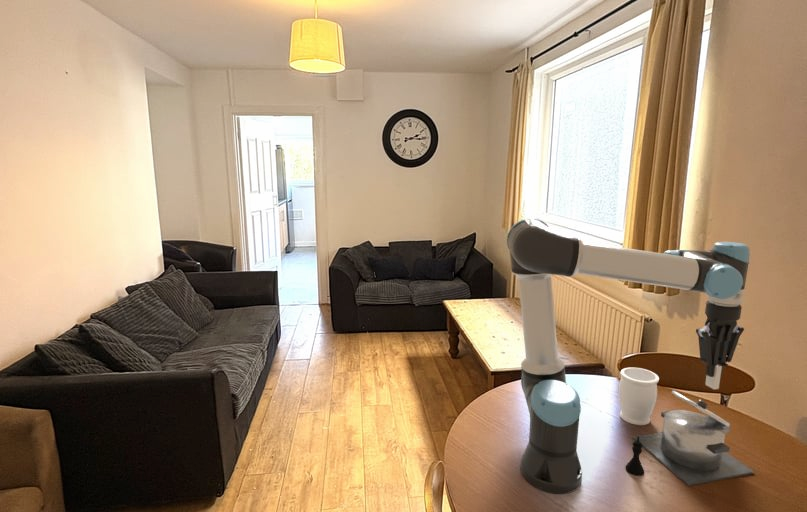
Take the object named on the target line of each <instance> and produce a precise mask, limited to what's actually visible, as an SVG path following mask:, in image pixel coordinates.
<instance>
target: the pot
mask: <svg viewBox="0 0 807 512" xmlns="http://www.w3.org/2000/svg"><path fill="white" fill-rule="evenodd" d="M660 416H661V417H662V418H663V425H662V431H660V432H655V433H649V434H641V435H636V436H632V440H634V441H635V440H637V437H638V436H639V441H640V442H641V443H642V445H643V447H642V448H643V449H644V450H646V452H647V453H649V454H650V455H651V456H652V457H653V458H655V459H656V460H657V461H658V462H659V463H661V464H662V465H663V466H664V467H665V468H667V469H668V470H669V471H670V472H671V473H673V474H674V475H675V476H676V477H677V478H679V479H680V480H681V481H682V482H683V483H684V484H686V485H687V486H688V487H690V486H695V485H701V484H705V483H711V482H712V483H713V482H716V481H721V480H727V479H731V478H737V477H742V476H748V475H752V474H755V471H754V470H753V469H751V468H749V467H748V466H747V465H746V464H744V463H742V462H741V461H740V460H738V459H737V458H735V457H734V456H733V455H731V454H730V453H729V452H730V447H729V446H728V445H726V444H725V439H726V434H729V433H730V428H731V425H730V426H729V427H727V426H725V425H724V424H722V423H720V422H718V421H717V420H715V419H713V418H711V417H710V416H708V415H706V414H704V413H703V414H702V413H699V412H695V411H692V410H685V409H674V410H666V411H661V413H660Z"/></svg>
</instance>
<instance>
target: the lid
mask: <svg viewBox="0 0 807 512" xmlns="http://www.w3.org/2000/svg"><path fill="white" fill-rule="evenodd" d="M671 394H673V395H674V396H675V397H677V398H678V399H680V400H681V401H683V402H685V403H687V404H688V405H690V406H691V407H692V408H695V409H697V411H700V412H701V413H703V414H704V415H705V416H710V417H711V418H713V419H715V420H717V421H718V422H720V423H722V424H724V425H725V426H727V427H729V426H730V427H731V423H730V422H729V421H727V420H725V419H724V418H722V417H720V416H719V415H718V414H715V413H714V412H712V411H711V410H708V409H707V408H708V406H709V404H708V403H706V402H705V401H703V400H701V399H700V398H699V399H698V400H697V402H695V401H694V400H691V399H690V398H688V397H687V396H685V395H683V394H681V393H680V392H679V391H675V390H672V391H671Z"/></svg>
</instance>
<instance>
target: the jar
mask: <svg viewBox="0 0 807 512" xmlns="http://www.w3.org/2000/svg"><path fill="white" fill-rule="evenodd" d="M619 373H620V376H621V377H620V380H619V385H618V403H619V408H620V410H621V411H620V412H619V417H620V418H621V419H622V420H623V421H624V422H626V423H629V424H632V425H635V426H645V425H649V424H650V422H651V418H650V416H651V415H653V414H652V413H653V412H654V409H655V405H656V402H657V398H658V386H657V385H658V383H659V380H660V377H659V376H658V374H656V373H655V372H653V371H651V370H649V369H646V368H642V367H635V366H634V367H633V366H632V367H624V368H622V369H621V370H620V372H619Z"/></svg>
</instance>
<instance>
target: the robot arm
mask: <svg viewBox="0 0 807 512" xmlns="http://www.w3.org/2000/svg"><path fill="white" fill-rule="evenodd" d="M506 245H507V248H508V250H509V258H510V259H509V260H510V267H511V273H512V274H513V275H515V276H516V277H517V281H518V290H519V300H520V310H521V311H520V312H521V321H522V332H523V338H524V339H523V340H524V341H523V342H524V351H525V358H524V359H523V360H522V362H521V364H520V366H521V379H520V385H521V389H522V392H523V394H524V395H523V396H524V399H525V401H526V402H525V403H526V406H527V409H528V413H529V431H528V432H529V434H528V435H529V436H528V442H527V445H526V447H525V450H524V452H523V455H522V456H521V459H520V472H521V473H520V474H521V475H522V477H523V478H524V479H525V480H526V481H527V482H528V483H529V484H530V485H531V486H533V487H535V488H537V489H538V490H541V491H544V492H547V493H552V494H568V493H571V492H574V491H575V490H577V489H578V488H580V486H581V485H582V482H583V481H582V479H583V470H582V465H581V462H580V458H579V455H578V450H577V447H578V438H579V437H578V436H579V424H580V415H581V410H582V409H581V407H582V406H581V399H580V395H579V393H578V392H577V391H576V389H575V388H574V387H572V386H571V385H568V383H567V379H566V378H567V377H566V368H565V362H564V361H563V360H562V359H561V358H560V357H559V353H558V341H557V330H556V329H557V328H556V318H555V305H554V293H553V281H552V279H553V278H552V275H554V276H562V277H570V278H572V277H574V276H575V275H576V274H578V275H585V276H591V277H597V278H603V279H604V278H606V279H611V280H612V279H613V280H618V281H624V282H631V283H638V284H644V285H650V286H651V285H652V286H657V287H658V286H659V287H665V288H672V289H676V290H677V289H678V290H679V289H680V290H686V291H690V292H696V293H702V294H706V299H707V301H706V302H705V309H704V314H705V316H706V318H707V319H706V320H705V323H704V326H703V327H702V328H700V327H698V328H696V330H695V333H696V334H697V337H698V347H699V359H700V361H701V362H703V363H704V364H706V367H705V377H706V378H705V383H704V384H705V386H707V387H708V388H710V389H712V390H719V389H720V382H721V376H722V374H723V369H724V367H728V365H729V364H728V363H730V362H732V359H733V357H734V355H735V351H736V349H737V345H738V343H739V340H740V338H741V335H742V334H743V332H744V331H745V328H744V327H742V326H739V325H738V321H739V320H740V319H741V315H742V308H743V307H742V304H743V300H744V293H745V286H746V281H747V275H748V270H749V265H750V256H751V255H750V252H751V250H750V247H749V245H747V244H745V243H742V242H734V241H718V242H715V243H714V245H713V248H712V249H711V250H692V249H691V250H690V249H689V250H688V249H687V250H686V249H673V250H672V249H670V250H665V251H664V252H663V253H662V252H656V251H655V252H654V251H647V250H640V249H633V248H627V247H620V246H615V245H613V246H612V245H607V244H600V243H594V242H593V243H592V242H586V241H582V240H581V239H580V237H579V236H575V235H569V234H565V233H562V232H558V231H557V230H555V229H552V228H551V227H550V226H549V225H548V224H547V223H546V222H544V221H542V220H540V219H536V218H525V219H521V220H519V221H517V222H515V223H514V224H513V225H512V226H511V227H510V229H509V231H508V233H507V237H506Z"/></svg>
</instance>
